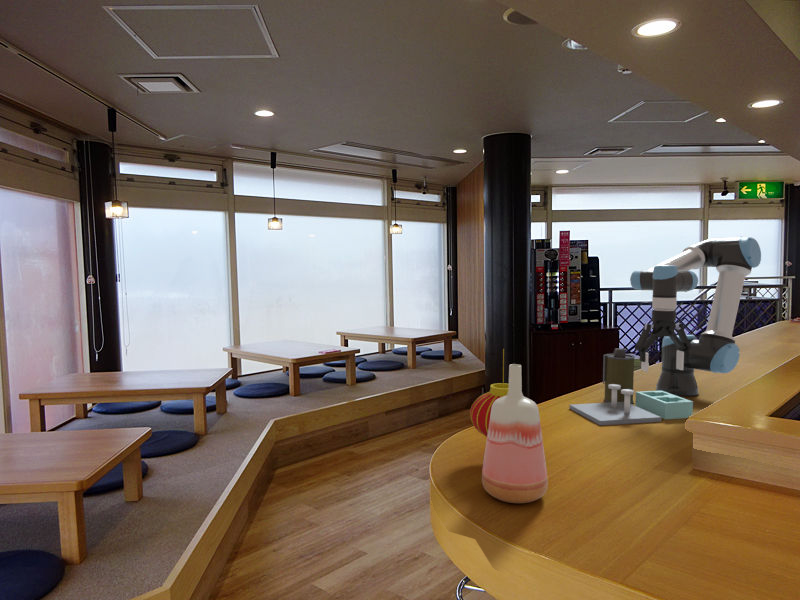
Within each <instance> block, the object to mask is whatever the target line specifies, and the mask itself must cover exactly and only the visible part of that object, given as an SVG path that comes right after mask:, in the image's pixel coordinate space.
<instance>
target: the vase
mask: <svg viewBox="0 0 800 600" xmlns="http://www.w3.org/2000/svg"><path fill="white" fill-rule="evenodd" d="M522 381H523V380H522V365H521V364H517V363H512V364H509V366H508V384H509V390H508V394H507V395H506V396H503V397H501V398H498V399H497V400H495V401H494V403H493V404H492V408H491V414H490V421H489V428H488V435H487V437H486V442H485V449H484V455H483V463H482V469H481V484H482V487H483V489H484V490H485V492H486V493H488V494H489V495H490V496H491V497H493V498H495V499H497V500H499V501H502V502H505V503H511V504H529V503H532V502H535V501H537V500H539V499H541V498H542V497H543V496H544V495H545V494H546V492H547V489H548V473H547V472H548V471H547V464H546V456H545V449H544V441H543V434H542V426H541V418H540V412H539V407H538V404H537V403H536V402H535V401H533V400H532V399H530V398H528V397H526V396H524V394H523V391H522V390H523V389H522V387H523V385H522V384H523V382H522Z"/></svg>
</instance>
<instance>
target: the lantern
mask: <svg viewBox="0 0 800 600" xmlns="http://www.w3.org/2000/svg"><path fill="white" fill-rule="evenodd" d="M502 356H503V357H502V358H503V359H502V364H503V365H502V383H501V382H500V383H499V382H498V383H492V384H490V390H489V391H488V392H486V393H483V394H481V395H479V396H478V398H476V400H474V402H473V403H472V404H471V408H470V410H469V417H470V421H471V423H472V424H473V427H474V428H475V430H477V432H478V433H480V434H481V435H483V436H484V437H486V438H487V435H488V428H489V421H490V414H491V408H492V404H493V403H494V401H495V400H497V399H498V398H501V397H503V396H506V395H507V394H508V390H509V383H504V378H505V376H504V375H505V373H504V371H505V370H504V369H505V367H504V366H505V358H504V357H505V348H503V349H502Z"/></svg>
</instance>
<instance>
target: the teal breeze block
mask: <svg viewBox="0 0 800 600" xmlns="http://www.w3.org/2000/svg"><path fill="white" fill-rule="evenodd" d="M634 406H637V407H639V408H641V409H644V410H646V411H648V412H651V413H653V414H655V415H658V416H660V417H661V419H663V420H676V419H677V420H679V419H680V420H681V419H689V418H688V417H689V416H691V415H694V411H693V409H694V408H693V407H694V401H693V400H690V399H686V398H684V397H682V396H678V395H673V394H670V393H667V392H664V391H657V390H646V391H635V405H634Z"/></svg>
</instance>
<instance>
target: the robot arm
mask: <svg viewBox="0 0 800 600" xmlns="http://www.w3.org/2000/svg"><path fill="white" fill-rule="evenodd" d="M761 260H762V251H761V246H760V244H759V242H758V241H757V240H756V238H754V237H750V236H748V237H746V236H740V237H719V238H718V237H714V238H709V239H706V240H702V241H699V242H696V243H694V244H692V245H690V246H688V247H685V248H684V249H683V250H682V252H681V253H679V254H677V255H675V256H673V257H671V258H668V259H666V260H665V261H662V262H661V263H658V264H656V265H654V266H652V267H649V268H647V269H637V270H634V271H633V272H632V273H631V275H630V277H629V279H630V280H629V281H630V286H631V287H632V288H633V289H634V290H640V291H652V298H651V299H652V300H651V301H652V302H651V304H652V306H651V307H652V311H651V321H652V323H651V324H650V323H643V328H642V332H641V333H640V336H639V337H638V340H637V341H636V344H635V346H634V348H633V349H634V350H635V351H638V352H639V361H640V362H641V363H640V364H641V365H640V367H641V371H642V372H645V373H646V372H649V352H648V350H649V349H650V348H652V347H651V346H652V345H653V344H654V342H655V341H656V340H657V339H659V338H661V337H662V344H661V371H660V374H659V377H658V380H657V383H656V384H655V385H656V387H655V388H656V389H655V391H664V392H667V393H670V394H673V395H676V396H678V397H693V396H697V395H699V386H698V382H697V379H696V377H695V370H698V371H704V372H705V371H706V372H710V373H713V374H728V373H730V372H732V371H733V370H734V369H735V367H736V366H737V365H738V362H739V360H740V354H741V353H740V347H739V346H738V345H737V344H736V339H735V338H734V337H733V332H734V327H735V324H736V319H737V315H738V314H737V313H738V311H739V304H740V301H741V298H742V297H741V296H742V292H743V288H744V283H745V278H746V277H747V276H749V275H750V274H751V272H752V268H754V269H755V268H757V267H759V265H760V264H761ZM700 268H701V269H702V268H715V270H716V271H717V272H718V277H717V282H716V287H715V292H714V295H713V299H712V303H711V307H710V308H711V309H710V313H709V318H708V322H707V324H706V325H707V326H706V330H705V331H704V332H703V331H702V333H700V336H699V339H696V338H697V337H696V335H694V334H686V331H685V328H684V327H685V326H684V323H681V322H676V321H677V311H676V309H677V307H678V306H677V304H678V303H677V299H678V298H677V293H679V292H680V293H681V292H684V293H687V292H690V291H693V290H694V289H696V288H697V286H698V284H699V277H698V275H697V274H696V273H695V272H694V271H692V270H698V269H700ZM675 331H676V332H675Z"/></svg>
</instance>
